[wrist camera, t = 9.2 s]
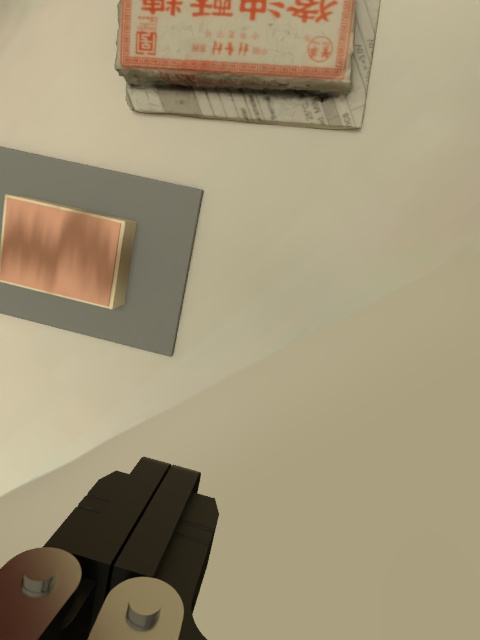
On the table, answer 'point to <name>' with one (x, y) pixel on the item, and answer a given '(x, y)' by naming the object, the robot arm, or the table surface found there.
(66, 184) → the mat
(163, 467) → the robot arm
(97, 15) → the table surface
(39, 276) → the birch tile
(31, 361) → the table surface
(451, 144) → the table surface
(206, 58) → the packaged product
